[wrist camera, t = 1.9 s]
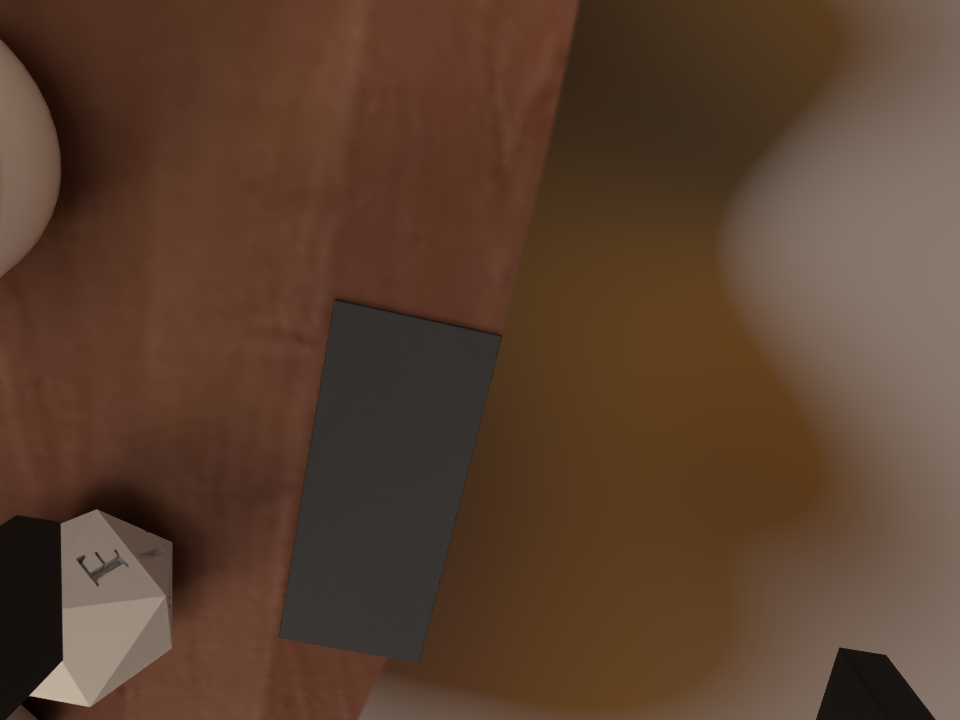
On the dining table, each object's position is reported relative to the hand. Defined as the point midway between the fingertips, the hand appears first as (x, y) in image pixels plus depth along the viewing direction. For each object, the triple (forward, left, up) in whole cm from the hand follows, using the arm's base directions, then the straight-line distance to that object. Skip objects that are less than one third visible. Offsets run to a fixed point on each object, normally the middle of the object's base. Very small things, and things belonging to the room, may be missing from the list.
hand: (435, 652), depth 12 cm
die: (+1, -23, -22) cm, 32 cm away
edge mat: (+6, -9, -22) cm, 25 cm away
